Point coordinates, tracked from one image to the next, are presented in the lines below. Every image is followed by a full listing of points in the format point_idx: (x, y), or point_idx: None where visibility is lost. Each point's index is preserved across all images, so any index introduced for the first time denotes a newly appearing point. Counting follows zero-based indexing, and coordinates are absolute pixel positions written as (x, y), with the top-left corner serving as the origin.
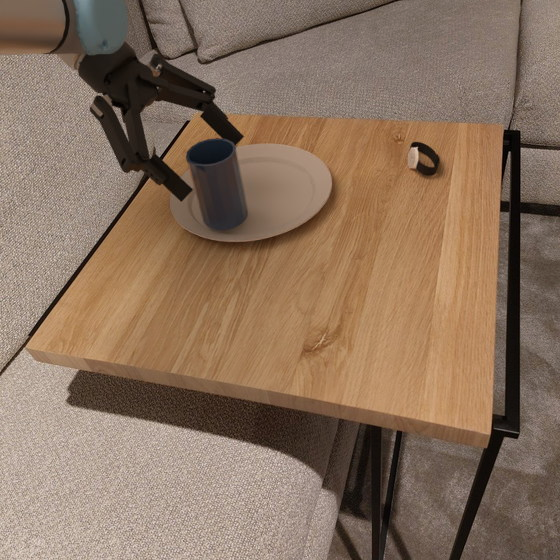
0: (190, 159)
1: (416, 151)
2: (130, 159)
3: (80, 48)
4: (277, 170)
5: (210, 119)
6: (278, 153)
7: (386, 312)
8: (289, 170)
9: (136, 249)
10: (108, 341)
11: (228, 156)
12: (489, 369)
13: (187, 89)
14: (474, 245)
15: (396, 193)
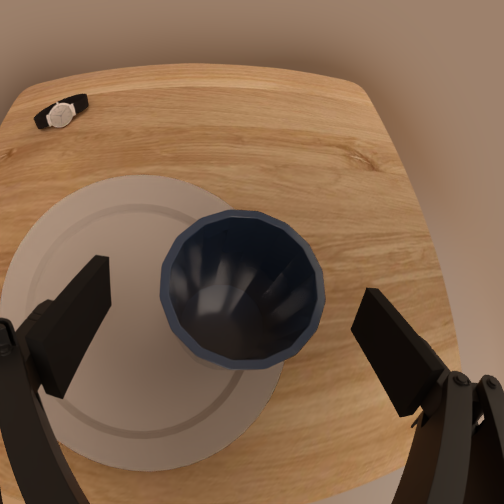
0: (303, 332)
1: (61, 103)
2: (497, 384)
3: None
4: (52, 293)
5: (70, 353)
6: (18, 297)
7: (305, 116)
8: (52, 272)
9: (318, 450)
10: (445, 360)
11: (176, 281)
12: (322, 75)
13: (8, 441)
14: (197, 71)
15: (112, 126)
